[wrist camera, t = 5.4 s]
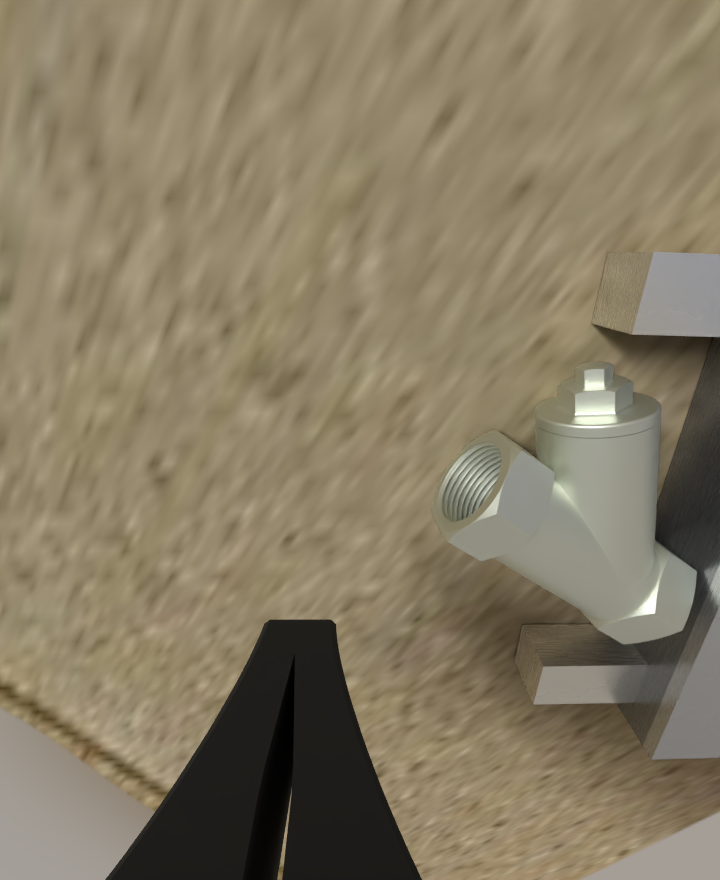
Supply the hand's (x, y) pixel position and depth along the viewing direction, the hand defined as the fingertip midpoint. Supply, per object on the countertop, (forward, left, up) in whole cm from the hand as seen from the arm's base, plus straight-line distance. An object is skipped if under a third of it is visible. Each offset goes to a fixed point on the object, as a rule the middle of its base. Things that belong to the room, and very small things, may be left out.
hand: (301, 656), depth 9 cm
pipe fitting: (-9, -1, -7) cm, 12 cm away
